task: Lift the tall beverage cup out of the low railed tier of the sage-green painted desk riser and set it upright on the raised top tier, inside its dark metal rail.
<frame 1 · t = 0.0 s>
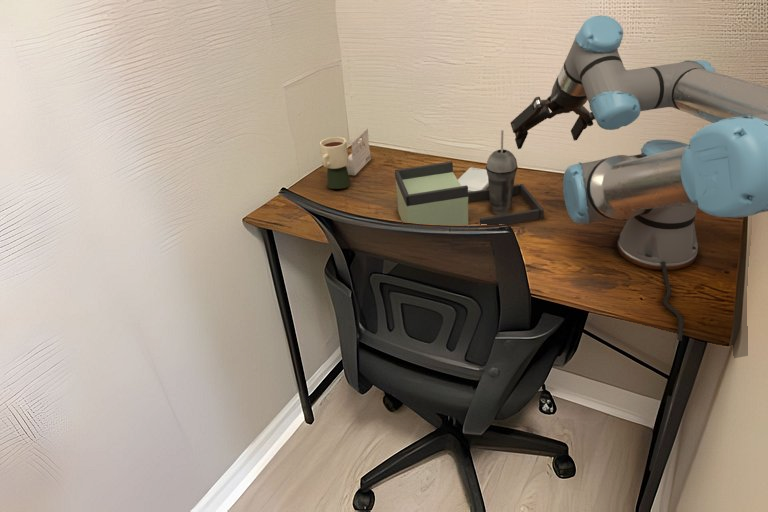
hand: (545, 139, 138), 15 cm above the table, tool tilted 35°, fingers open, 13 cm apart
hard drive: (474, 185, 156), on the table
riser: (468, 215, 143), on the table
beverage cup: (500, 210, 143), resting in riser
character mug: (339, 186, 162), on the table
ink cartridge box: (359, 168, 171), on the table
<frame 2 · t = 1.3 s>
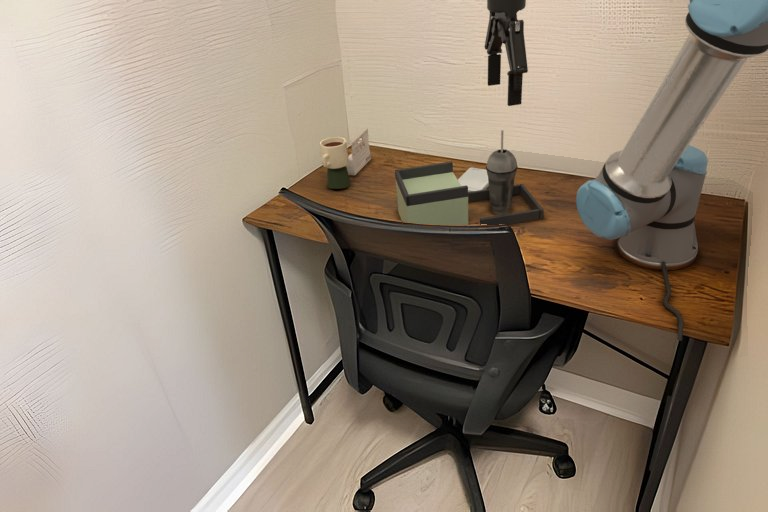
hand: (503, 94, 128), 29 cm above the table, tool pointing down, fingers open, 13 cm apart
nothing on the table moved.
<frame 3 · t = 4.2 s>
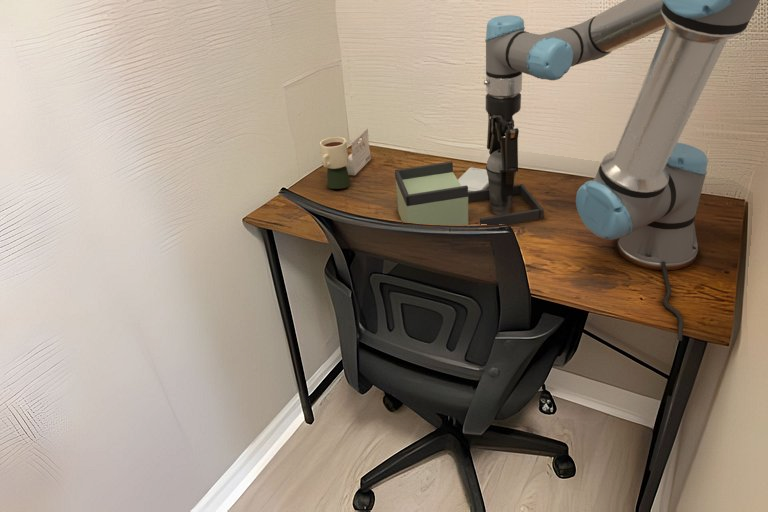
hand: (501, 187, 140), 6 cm above the table, tool pointing down, fingers closed on beverage cup, 7 cm apart
beverage cup: (500, 210, 143), resting in riser, touching gripper
everything else where it was.
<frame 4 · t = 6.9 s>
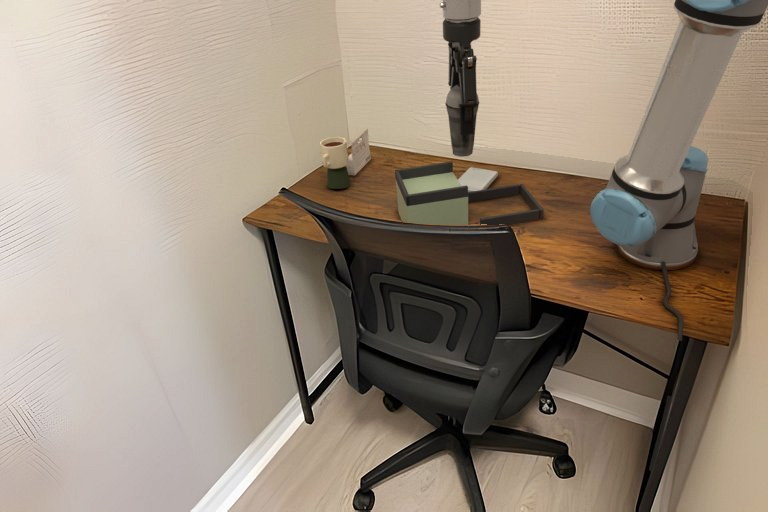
hand: (462, 127, 130), 23 cm above the table, tool pointing down, fingers closed on beverage cup, 7 cm apart
beverage cup: (462, 153, 134), point 16 cm above the table, touching gripper
everything else where it was.
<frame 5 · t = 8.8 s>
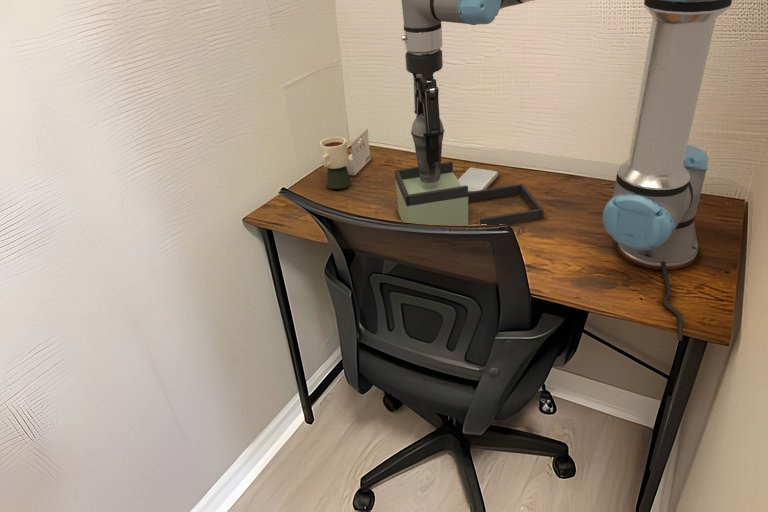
hand: (428, 154, 132), 17 cm above the table, tool pointing down, fingers closed on beverage cup, 7 cm apart
beverage cup: (429, 179, 136), point 11 cm above the table, touching gripper
everything else where it was.
when the fingers open (15 cm above the table, at t = 10.0 s): beverage cup stays where it is, resting on riser.
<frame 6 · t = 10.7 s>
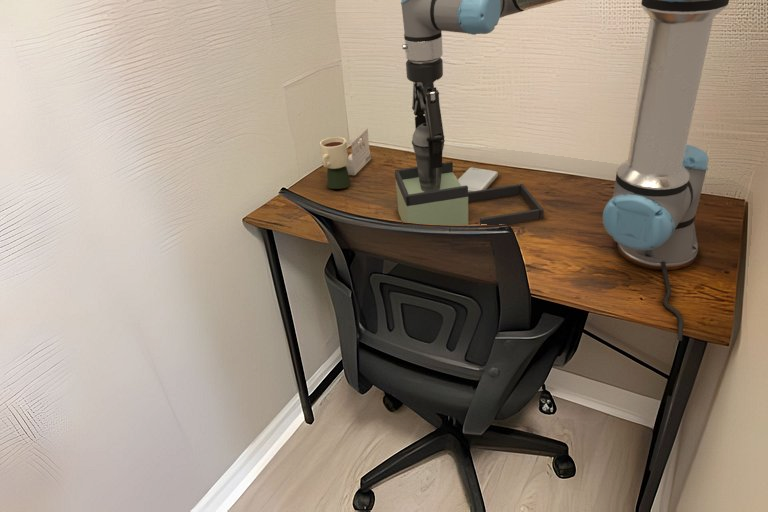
hand: (428, 154, 132), 17 cm above the table, tool pointing down, fingers open, 13 cm apart
beverage cup: (430, 188, 137), point 9 cm above the table, touching riser
everything else where it was.
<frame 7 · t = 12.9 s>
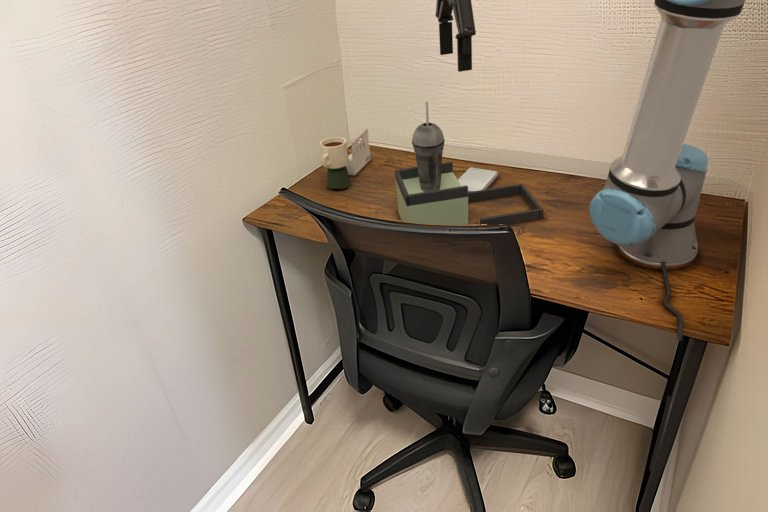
hand: (455, 61, 124), 36 cm above the table, tool pointing down, fingers open, 13 cm apart
nothing on the table moved.
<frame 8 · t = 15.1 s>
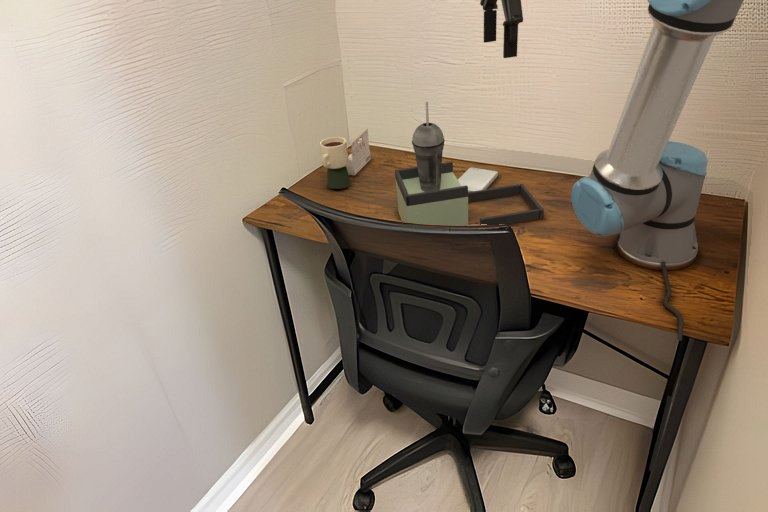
hand: (499, 49, 128), 37 cm above the table, tool pointing down, fingers open, 13 cm apart
nothing on the table moved.
at the end: beverage cup inside the target area on the riser (0.0 cm from its centre), point 8.8 cm above the riser's base; beverage cup tilted 0°; the gripper is holding nothing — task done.
